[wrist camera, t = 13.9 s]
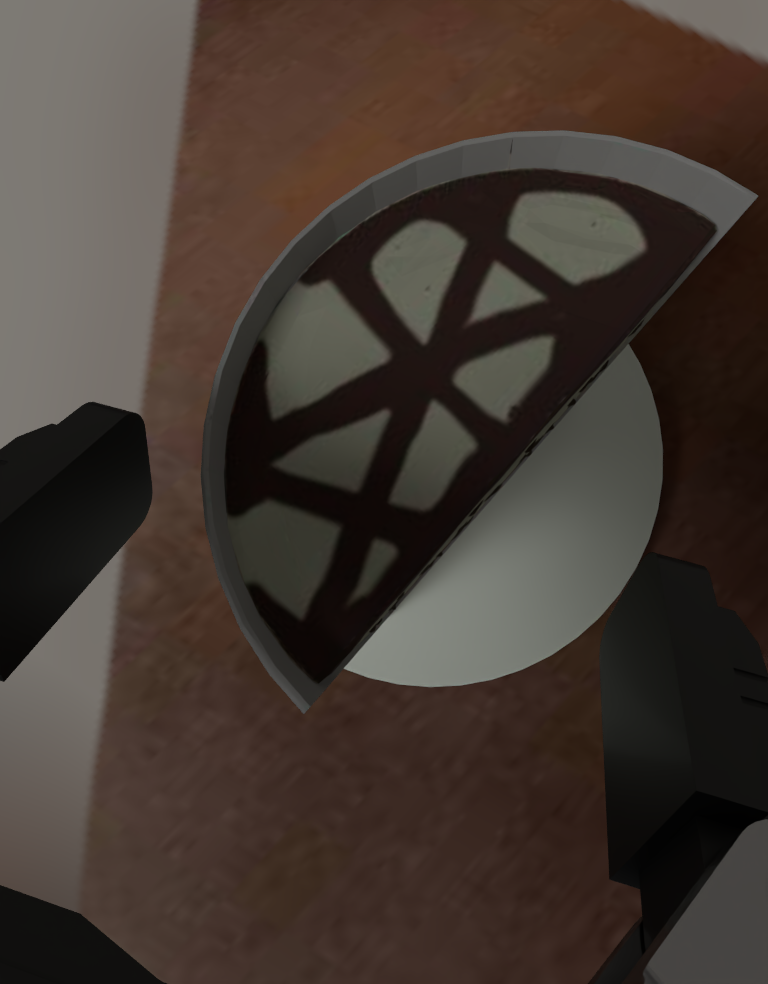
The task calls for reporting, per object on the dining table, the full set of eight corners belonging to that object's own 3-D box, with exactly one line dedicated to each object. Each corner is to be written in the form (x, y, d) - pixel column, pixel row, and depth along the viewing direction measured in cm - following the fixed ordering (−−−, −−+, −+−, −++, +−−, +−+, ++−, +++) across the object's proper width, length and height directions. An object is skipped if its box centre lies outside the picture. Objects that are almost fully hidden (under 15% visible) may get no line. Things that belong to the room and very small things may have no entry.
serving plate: (691, 307, 22) (706, 291, 20) (594, 737, 20) (605, 747, 19) (285, 217, 23) (277, 198, 22) (163, 610, 21) (148, 612, 20)
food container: (463, 256, 21) (496, -25, 11) (605, 369, 20) (780, 172, 10) (218, 526, 20) (23, 481, 10) (355, 654, 20) (284, 736, 10)
